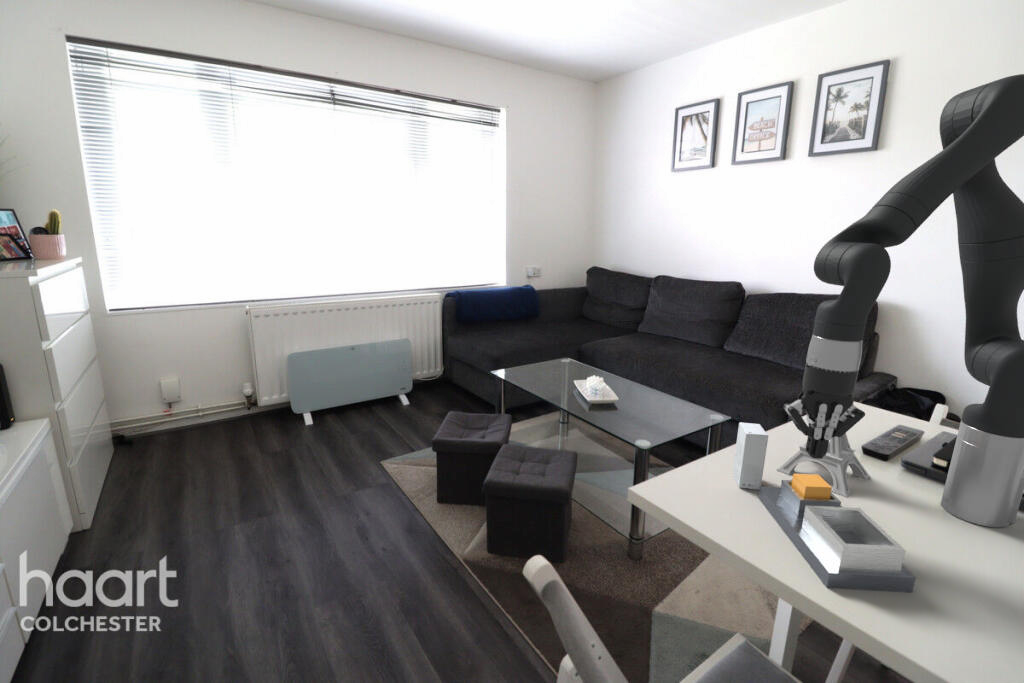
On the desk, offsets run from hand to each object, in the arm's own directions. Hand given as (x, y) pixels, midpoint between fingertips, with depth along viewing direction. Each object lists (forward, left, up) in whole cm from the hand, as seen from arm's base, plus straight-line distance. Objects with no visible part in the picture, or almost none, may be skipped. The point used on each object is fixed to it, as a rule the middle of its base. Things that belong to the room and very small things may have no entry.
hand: (814, 456), depth 85 cm
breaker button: (0, 0, -8) cm, 8 cm away
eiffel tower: (-12, -17, -13) cm, 24 cm away
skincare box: (+6, -12, -12) cm, 18 cm away
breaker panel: (0, +6, -12) cm, 14 cm away
